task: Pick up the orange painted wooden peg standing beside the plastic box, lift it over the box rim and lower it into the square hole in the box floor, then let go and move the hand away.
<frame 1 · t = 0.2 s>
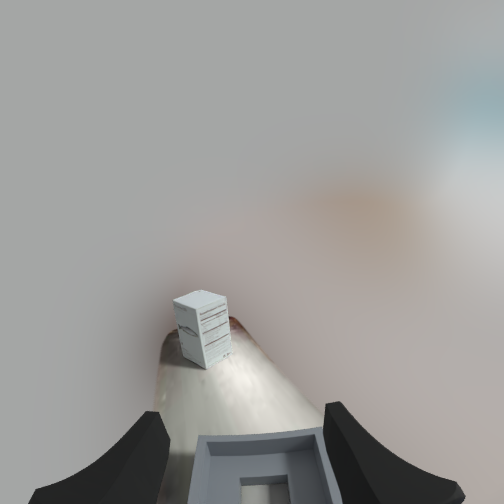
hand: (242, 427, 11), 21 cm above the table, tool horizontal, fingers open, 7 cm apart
supplement box: (208, 357, 54), on the table
box: (265, 501, 21), on the table
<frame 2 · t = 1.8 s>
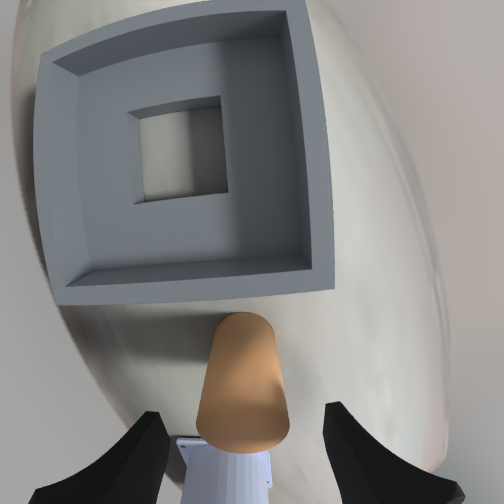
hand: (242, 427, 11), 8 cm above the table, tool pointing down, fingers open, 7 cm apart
peg: (244, 339, 18), on the table
box: (182, 152, 16), on the table
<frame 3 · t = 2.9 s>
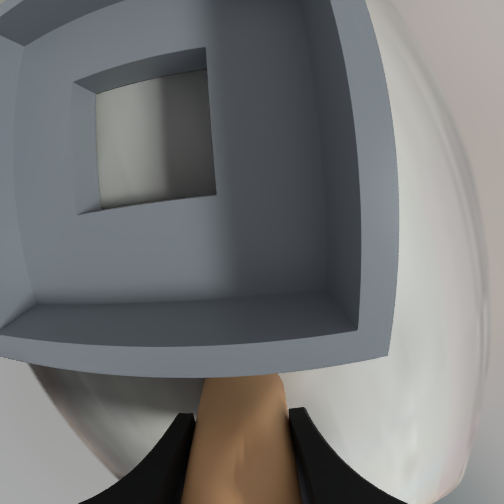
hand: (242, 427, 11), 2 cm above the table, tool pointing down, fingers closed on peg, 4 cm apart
peg: (243, 392, 13), on the table, touching gripper
box: (151, 136, 10), on the table
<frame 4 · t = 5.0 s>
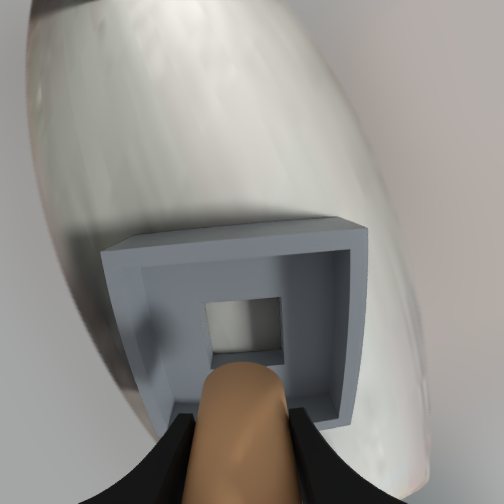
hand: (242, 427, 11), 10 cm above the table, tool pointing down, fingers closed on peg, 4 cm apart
peg: (243, 393, 13), point 8 cm above the table, touching gripper
box: (243, 322, 20), on the table
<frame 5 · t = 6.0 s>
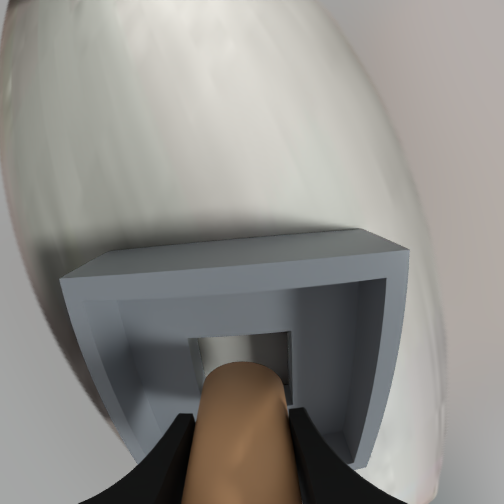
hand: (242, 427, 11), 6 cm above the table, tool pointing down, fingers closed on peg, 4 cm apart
peg: (243, 393, 13), point 3 cm above the table, touching gripper
box: (244, 356, 16), on the table
when the fingers open (3 cm above the table, at t = 7.0 s): peg drops 1 cm, resting in box.
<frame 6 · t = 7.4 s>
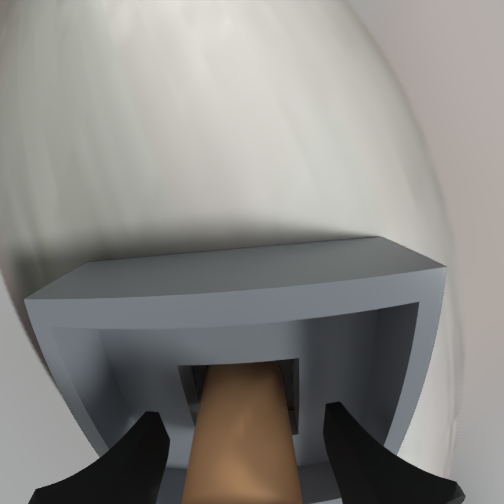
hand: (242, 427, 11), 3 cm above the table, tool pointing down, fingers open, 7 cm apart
peg: (243, 380, 14), resting in box
box: (243, 380, 14), on the table
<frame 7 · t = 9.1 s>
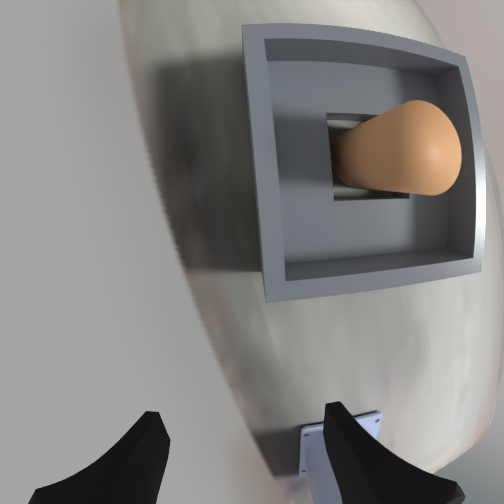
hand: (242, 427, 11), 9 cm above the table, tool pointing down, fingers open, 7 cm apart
peg: (359, 158, 17), resting in box
box: (359, 158, 17), on the table
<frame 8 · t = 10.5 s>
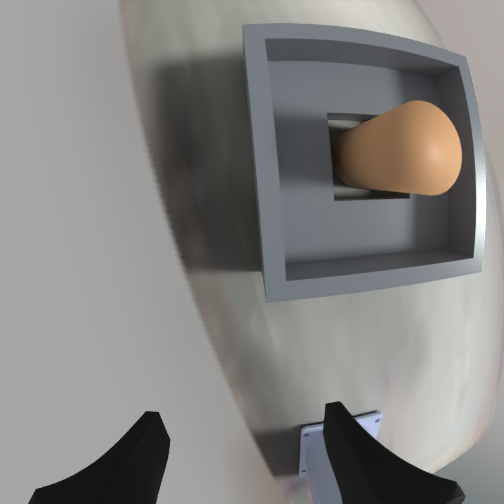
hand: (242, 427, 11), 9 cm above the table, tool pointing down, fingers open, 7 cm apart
peg: (359, 158, 17), resting in box
box: (359, 158, 17), on the table
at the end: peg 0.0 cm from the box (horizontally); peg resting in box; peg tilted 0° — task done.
